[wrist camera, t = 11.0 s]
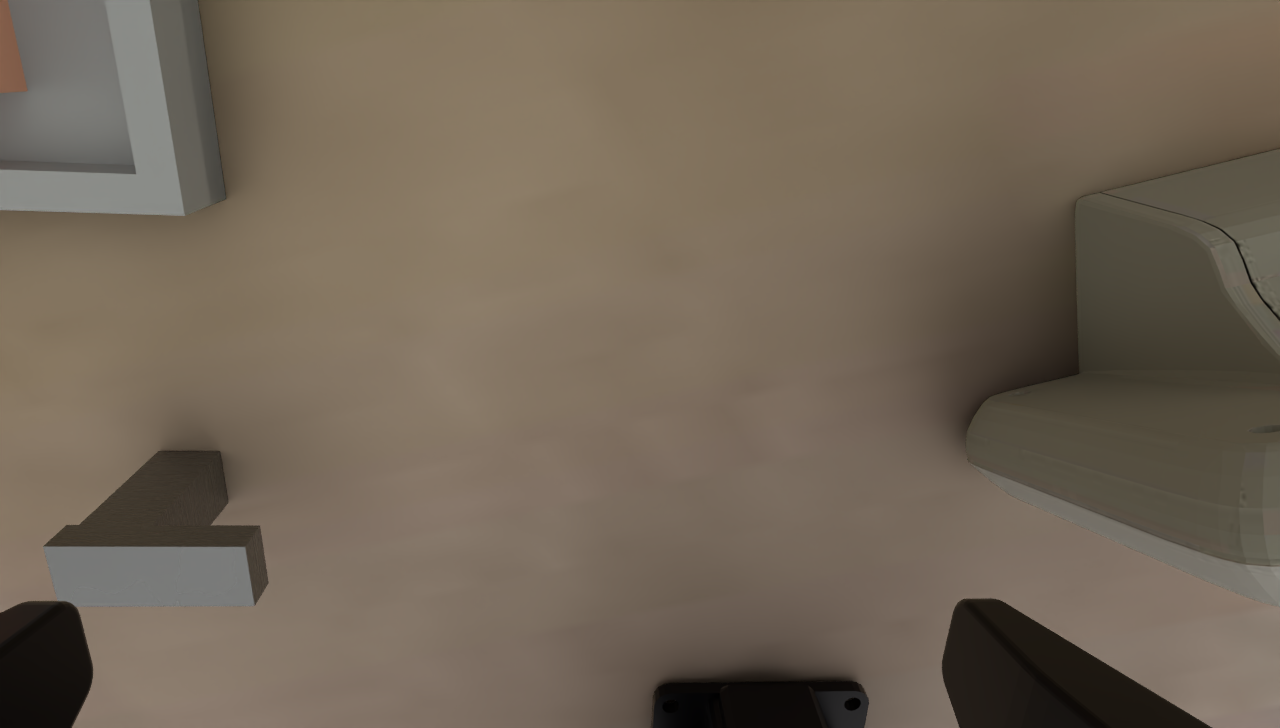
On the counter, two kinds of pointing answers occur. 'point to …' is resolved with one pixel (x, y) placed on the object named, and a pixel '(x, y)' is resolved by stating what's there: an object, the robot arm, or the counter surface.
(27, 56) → the tray
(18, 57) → the salmon slotted frame
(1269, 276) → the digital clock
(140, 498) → the gray t-shaped block
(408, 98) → the counter surface
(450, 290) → the counter surface
